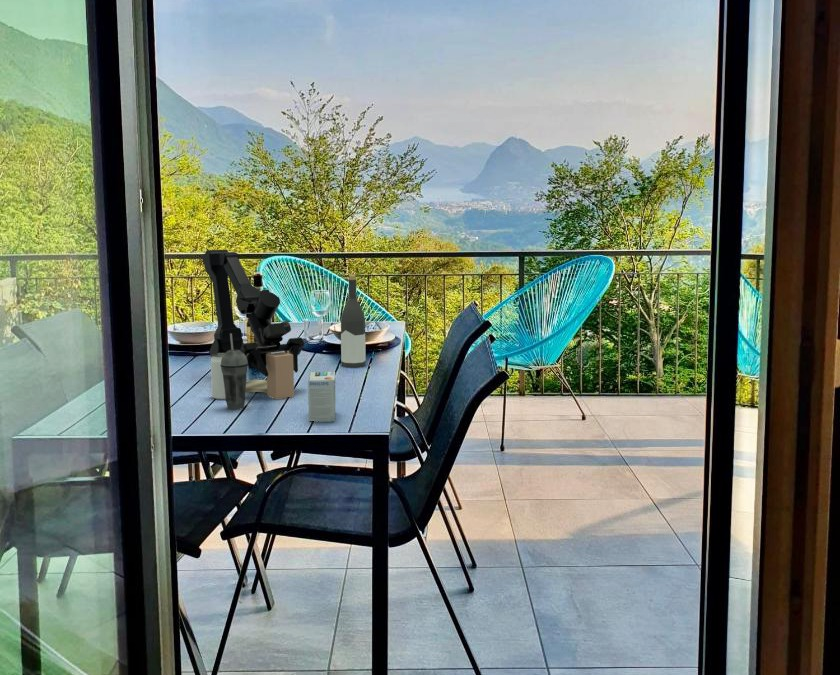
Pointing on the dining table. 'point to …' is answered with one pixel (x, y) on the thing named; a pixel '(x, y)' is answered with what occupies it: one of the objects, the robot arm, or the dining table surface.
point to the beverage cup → (234, 377)
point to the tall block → (280, 375)
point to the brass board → (256, 386)
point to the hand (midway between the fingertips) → (282, 373)
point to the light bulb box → (321, 396)
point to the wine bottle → (353, 330)
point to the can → (217, 377)
